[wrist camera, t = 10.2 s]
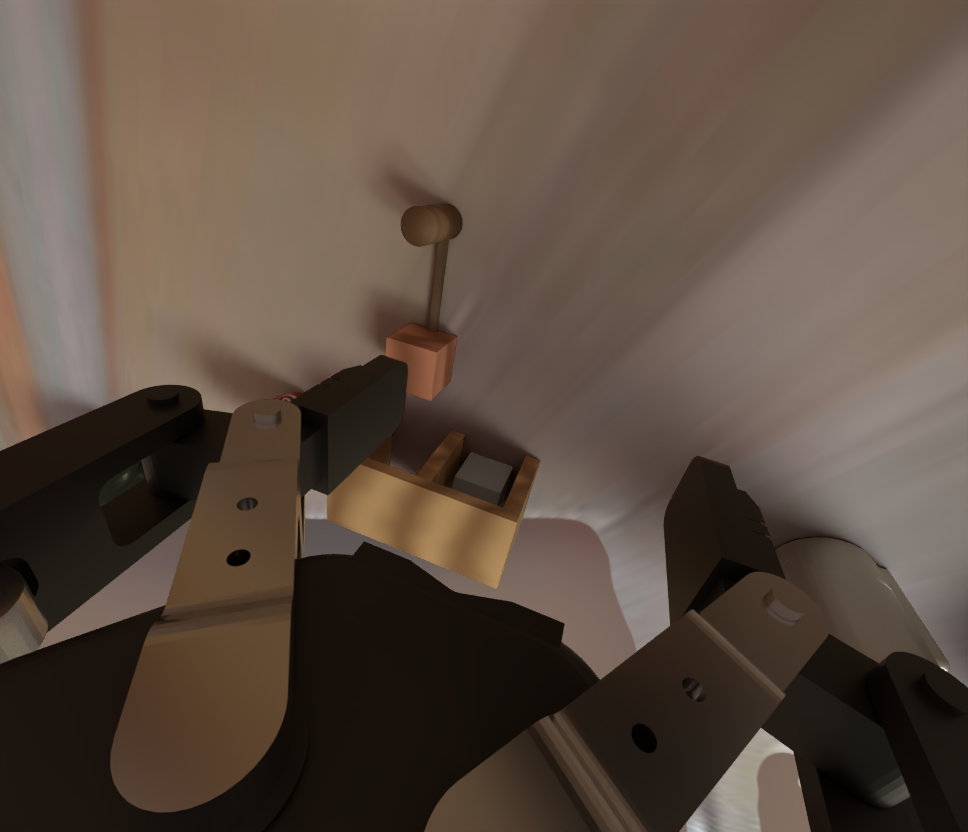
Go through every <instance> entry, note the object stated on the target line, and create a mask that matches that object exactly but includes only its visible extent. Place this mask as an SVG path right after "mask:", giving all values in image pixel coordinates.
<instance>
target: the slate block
mask: <svg viewBox="0 0 968 832" xmlns="http://www.w3.org/2000/svg"><path fill="white" fill-rule="evenodd" d="M512 468H513V467H512V466H509V465H507V464H504V463H501V462H498V461H495V460H492V459H489V458H487V457H484V456H481V455H478V454H475V453H472V452H471V453H470V454H469V456H468V457H467V459H466V460H465V462H464V463H463V465H462V466H461V468H460V469H459V471H458V472H457V474H456V475H455V478H454V483H453V489H454V490H456V491H459V492H462V493H464V494H467V495H470V496H472V497H475V498H478V499H481V500H483V501H486V502H489V503H491V504H494V505H497V506H500V507H501V505H502V503H503V501H504V498H505V494H506V490H507V487H508V483H509V479H510V476H511V472H512Z"/></svg>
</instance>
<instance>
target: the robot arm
mask: <svg viewBox="0 0 968 832" xmlns="http://www.w3.org/2000/svg"><path fill="white" fill-rule="evenodd" d="M407 379H408V365H407V363H406V362H403V361H400V360H397V359H393V358H390V357H387V356H384V355H380V356H378V357H376V358H375V359H373V360H372V361H370V362H368V363H367V364H365V365H364V366H361V365H359V366H355V367H351V368H347V369H343V370H341V371H340V372H338V373H336V374H335V375H333V376H331V378H328V379H326V380H325V381H323V382H321V384H320V385H319V384H318V385H316V386H315V387H313V388H311V389H310V390H308V391H306V392H305V393H303V394H301V395H300V396H298V397H296V398H295V399H293V400H291V401H290V402H287V401H283V400H276V399H263V400H257V401H252V402H249V403H246V404H244V405H242V406H240V407H238V408H237V409H236V410H235V411H234V412H233V413H227V412H219V411H212V410H204V409H203V403H202V398H201V394H200V393H199V392H198V391H197V390H195V389H193V388H191V387H187V386H181V385H160V386H154V387H149V388H145V389H142V390H139V391H137V392H134V393H132V394H130V395H128V396H125V397H123V398H121V399H118V400H116V401H114V402H112V403H109V404H107V405H105V406H102V407H100V408H98V409H96V410H93V411H91V412H89V413H86V414H84V415H82V416H79V417H77V418H75V419H73V420H70V421H68V422H66V423H63V424H61V425H59V426H57V427H54V428H52V429H50V430H47V431H45V432H43V433H41V434H38V435H36V436H34V437H31V438H29V439H27V440H24V441H22V442H20V443H18V444H15V445H13V446H11V447H8V448H6V449H4V450H2V451H0V832H679V831H680V830H681V829H682V827H683V826H684V825H685V823H686V822H687V821H688V820H689V818H690V817H691V816H692V815H693V813H694V812H695V811H696V809H697V808H698V807H699V806H700V804H701V803H702V802H703V801H704V799H705V798H706V797H707V795H708V794H709V793H710V792H711V790H712V789H713V788H714V787H715V785H716V784H717V783H718V781H719V780H720V779H721V778H722V776H723V775H724V774H725V773H726V771H727V770H728V769H729V767H730V766H731V765H732V764H733V762H734V761H735V760H736V758H737V757H738V756H739V755H740V753H741V752H742V751H743V750H744V748H745V747H746V746H747V744H748V743H749V742H750V741H751V739H752V738H753V737H754V736H755V734H756V733H757V732H758V730H759V729H760V728H762V729H764V730H765V731H766V732H768V733H769V734H770V735H772V736H773V737H775V738H776V739H777V740H779V741H780V742H781V743H783V744H784V745H786V746H787V747H788V748H790V749H791V750H792V751H794V756H795V761H796V765H797V770H798V775H799V779H800V784H801V788H802V793H803V797H804V802H805V806H806V811H807V816H808V821H809V825H810V830H811V832H968V688H967V687H966V686H965V685H964V684H963V683H961V682H960V681H959V680H958V679H956V678H955V677H954V676H952V675H951V674H950V673H948V672H949V671H950V665H949V662H948V661H947V659H946V658H945V656H944V654H943V653H942V651H941V650H940V648H939V647H938V645H937V644H936V642H935V641H934V639H933V638H932V636H931V635H930V633H929V631H928V630H927V628H926V627H925V625H924V624H923V622H922V621H921V619H920V618H919V616H918V615H917V613H916V611H915V610H914V608H913V607H912V605H911V604H910V602H909V601H908V599H907V598H906V596H905V595H904V593H903V592H902V590H901V588H900V587H899V585H898V584H897V582H896V581H895V579H894V578H893V576H892V575H891V573H890V572H889V571H888V570H886V569H883V568H880V567H878V566H877V565H876V563H875V562H874V561H873V559H872V558H871V556H870V555H868V554H867V553H866V552H865V551H864V550H863V549H861V548H859V547H857V546H855V545H853V544H851V543H848V542H845V541H842V540H838V539H832V538H821V537H814V538H803V539H799V540H795V541H791V542H789V543H786V544H784V545H782V546H780V547H779V548H777V549H774V546H773V543H772V540H769V538H770V535H769V532H768V530H767V527H765V522H764V519H763V516H762V514H761V511H760V508H759V507H758V506H757V505H756V503H755V502H754V501H753V500H752V499H751V498H750V496H749V495H748V494H747V493H746V492H745V491H742V490H739V489H737V487H736V484H735V481H734V478H733V475H732V472H731V469H730V467H729V466H728V465H725V464H722V463H718V462H715V461H712V460H709V459H706V458H703V457H700V456H696V457H695V458H694V459H693V460H692V461H691V463H690V465H689V466H688V468H687V470H686V472H685V474H684V476H683V477H682V479H681V481H680V483H679V485H678V487H677V489H676V490H675V492H674V494H673V496H672V498H671V500H670V502H669V504H668V506H667V509H666V513H665V517H664V538H665V553H666V568H667V583H668V598H669V613H670V626H669V627H668V628H667V629H665V630H664V631H663V632H662V633H660V634H659V635H658V636H656V637H655V638H654V639H653V640H651V641H650V642H649V643H647V644H646V645H645V646H643V647H642V648H641V649H640V650H638V651H637V652H636V653H634V654H633V655H632V656H631V657H629V658H628V659H627V660H625V661H624V662H623V663H622V664H620V665H619V666H618V667H616V668H615V669H614V670H612V671H611V672H610V673H609V674H607V675H606V676H605V677H603V678H602V679H601V680H600V679H599V678H598V677H597V675H596V674H595V673H594V672H593V670H592V669H591V668H590V667H589V666H588V665H587V664H586V663H585V662H584V661H583V659H582V658H580V657H579V656H578V655H577V654H576V653H575V652H574V651H572V650H571V649H570V648H569V647H568V646H566V645H564V643H562V642H561V640H562V635H563V629H564V623H562V622H559V621H557V620H555V619H552V618H550V617H547V616H545V615H542V614H540V613H538V612H535V611H533V610H530V609H528V608H525V607H523V606H520V605H518V604H516V603H513V602H509V601H503V600H497V599H491V598H486V597H479V596H474V595H467V594H462V593H457V592H454V591H452V590H451V589H449V588H448V587H446V586H445V585H444V584H442V583H441V582H439V581H438V580H437V579H435V578H434V577H433V576H431V575H430V574H428V573H427V572H426V571H424V570H423V569H421V568H420V567H419V566H417V565H416V564H415V563H413V562H412V561H410V560H408V559H406V558H403V557H401V556H398V555H396V554H394V553H391V552H389V551H386V550H384V549H381V548H379V547H377V546H374V545H372V544H369V543H367V542H363V544H362V545H361V546H360V547H359V548H358V550H357V551H356V552H355V553H354V555H343V554H325V555H316V556H309V557H305V558H304V545H305V540H304V539H305V494H306V493H307V492H308V491H309V490H311V489H313V490H316V491H318V492H321V493H323V494H326V495H329V494H330V493H331V492H332V491H334V490H335V489H336V488H337V487H338V486H339V485H340V484H341V483H342V482H343V481H344V480H345V479H346V478H347V477H348V476H349V475H350V474H351V473H352V472H353V471H354V470H355V469H356V468H357V467H358V466H359V465H360V464H361V463H362V462H363V461H364V460H365V459H366V458H367V457H368V456H370V455H371V454H372V453H373V452H374V451H375V450H376V449H377V448H378V447H379V446H380V445H381V444H382V443H383V442H384V441H385V440H386V439H387V438H388V437H389V436H390V435H391V434H392V433H393V432H394V431H395V430H396V429H397V428H398V426H399V425H400V423H401V420H402V418H403V414H404V409H405V399H406V389H407ZM139 461H141V462H142V466H143V469H144V473H145V476H146V479H144V480H143V481H141V482H139V483H138V484H136V485H135V486H133V487H131V488H130V489H128V490H127V491H125V492H124V493H122V494H120V495H119V496H117V497H116V498H114V499H112V500H111V501H109V502H108V503H106V504H105V505H103V506H100V504H99V494H100V491H101V489H102V487H103V486H104V485H105V483H106V482H107V481H108V480H110V479H111V478H112V477H114V476H115V475H117V474H119V473H120V472H122V471H124V470H126V469H127V468H129V467H131V466H132V465H134V464H136V463H137V462H139ZM189 519H191V522H190V525H189V529H188V532H187V535H186V539H185V542H184V546H183V549H182V552H181V555H180V559H179V562H178V566H177V569H176V573H175V576H174V579H173V583H172V586H171V589H170V593H169V596H168V599H167V603H166V605H165V606H162V607H159V608H156V609H153V610H151V611H148V612H144V613H142V614H139V615H136V616H133V617H130V618H127V619H124V620H122V621H119V622H116V623H113V624H110V625H107V626H105V627H102V628H99V629H96V630H93V631H90V632H88V633H85V634H82V635H79V636H76V637H73V638H70V639H68V640H65V641H62V642H59V643H56V644H53V645H51V646H48V647H45V648H42V649H39V650H37V649H38V648H39V647H40V645H41V643H42V642H43V640H44V638H45V636H46V633H47V632H48V631H50V630H51V629H52V628H54V627H55V626H56V625H57V624H59V623H60V622H61V621H62V620H64V619H65V618H66V617H67V616H69V615H70V614H71V613H72V612H74V611H75V610H76V609H77V608H79V607H80V606H81V605H82V604H84V603H85V602H86V601H87V600H89V599H90V598H91V597H93V596H94V595H95V594H96V593H98V592H99V591H100V590H101V589H102V588H104V587H105V586H106V585H108V584H109V583H110V582H111V581H112V580H114V579H115V578H116V577H118V576H119V575H120V574H121V573H123V572H124V571H125V570H126V569H128V568H129V567H130V566H131V565H133V564H134V563H135V562H137V561H138V560H139V559H140V558H142V557H143V556H144V555H145V554H147V553H148V552H149V551H150V550H152V549H153V548H154V547H155V546H157V545H158V544H159V543H160V542H162V541H163V540H164V539H165V538H167V537H168V536H169V535H171V534H172V533H173V532H174V531H176V530H177V529H178V528H179V527H181V526H182V525H183V524H184V523H186V522H187V521H188V520H189Z"/></svg>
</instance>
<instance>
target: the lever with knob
mask: <svg viewBox="0 0 968 832" xmlns="http://www.w3.org/2000/svg"><path fill="white" fill-rule="evenodd" d="M461 229H462V217H461V214H460V212H459V211H458V210H457V209H456V208H455V207H454V206H452V205H449V204H443V205H429V206H415V207H411V208H409V209H407V210H406V211H405V212H404V214H403V216H402V219H401V231H402V234H403V236H404V238H405V239H406V240H407V241H408V242H409V243H410V244H412V245H414V246H417V247H421V246H425V245H429V244H433V243H437V242H438V249H437V257H436V266H435V275H434V283H433V292H432V300H431V309H430V317H429V326H428V328H427V327H423V326H420V325H417V324H413V323H411V324H409V325H407V326H405V327H404V328H402V329H400V330H398V331H397V332H395V333H393V334H391V335H390V336H388V337H387V339H386V354H385V356H387V357H390V358H393V359H397V360H400V361H403V362H406V363H407V365H408V379H407V389H406V393H408V394H411V395H414V396H417V397H420V398H423V399H426V400H429V401H431V400H432V399H433V398H434V397H435V396H436V395H437V394H438V393H439V392H440V391H441V390H442V389H443V388H444V387H445V386H446V385H447V384H448V383H449V382H450V380H451V373H452V367H453V361H454V354H455V348H456V341H457V336H454V335H451V334H447V333H444V332H440V331H437V329H438V321H439V313H440V306H441V298H442V290H443V282H444V275H445V267H446V259H447V251H448V243H449V239H453V238H455V237H456V236H457V235H458V234H459V233H460V231H461Z"/></svg>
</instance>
